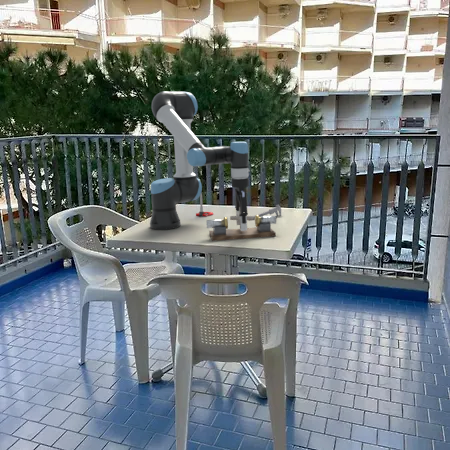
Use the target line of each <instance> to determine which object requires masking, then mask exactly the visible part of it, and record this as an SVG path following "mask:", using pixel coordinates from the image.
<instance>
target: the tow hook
mask: <svg viewBox="0 0 450 450" xmlns="http://www.w3.org/2000/svg"><path fill="white" fill-rule="evenodd" d="M199 199H200V200H199V205H200V206H199V212H198V213H197V212H196V213H195V217H198V216H199V217H208V216H213V215H214V213H213V212H212V211H204V209H203V208H204V206H203V192H201V194H200V196H199ZM205 213H208V214H205Z"/></svg>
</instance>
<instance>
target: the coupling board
mask: <svg viewBox="0 0 450 450" xmlns="http://www.w3.org/2000/svg"><path fill="white" fill-rule="evenodd" d="M208 231H209V236H210V238H211V241H212V242H213V241H214V242H215V240H216V241H223V240H224V241H226V240H228V241H229V240H238V239H239V240H241V239H255V238H267V237H276V235H277V234H276V232H275V231H274V229H273V228H271V231H269V232H259V231H258V230H257V227H256V226H255V227H247V230H244V231H241V229H240V228H229V229H226V235H214V232H213V230H208Z"/></svg>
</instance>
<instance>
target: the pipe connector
mask: <svg viewBox="0 0 450 450" xmlns="http://www.w3.org/2000/svg"><path fill="white" fill-rule="evenodd" d="M239 214H241V212H240V207H239ZM253 216H254V215H247V221H254V219H253ZM229 217H230V218H229V219H230V220H231V221H236V220H238V222H239V223H240V216H236V215H230V216H229ZM239 229H241V225H239Z"/></svg>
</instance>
